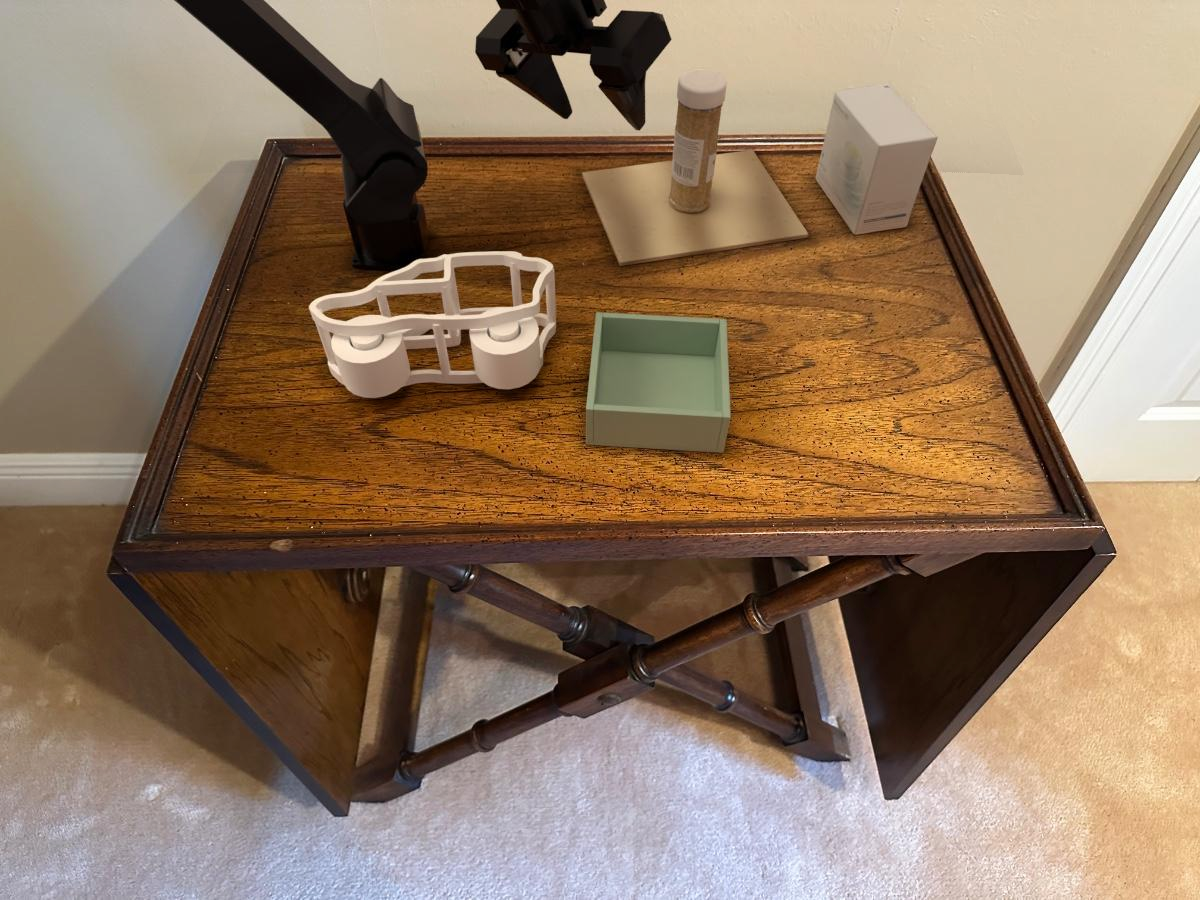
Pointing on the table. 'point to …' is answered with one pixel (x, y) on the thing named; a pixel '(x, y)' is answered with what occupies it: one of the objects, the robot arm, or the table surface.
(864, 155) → the cosmetics box
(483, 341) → the car outline toy
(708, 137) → the sprinkles bottle
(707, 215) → the mat
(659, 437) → the bin
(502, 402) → the table surface
